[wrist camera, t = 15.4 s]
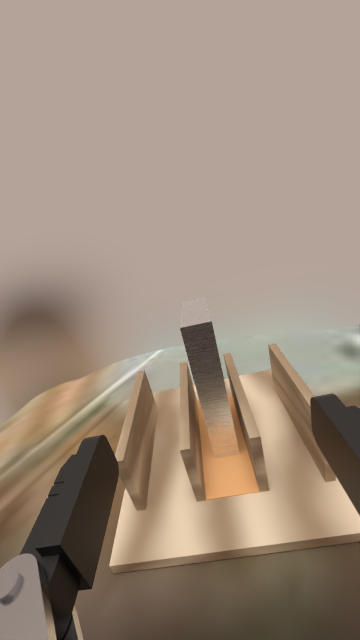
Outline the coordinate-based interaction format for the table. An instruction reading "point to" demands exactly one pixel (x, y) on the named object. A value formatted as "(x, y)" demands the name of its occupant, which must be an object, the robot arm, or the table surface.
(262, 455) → the media rack
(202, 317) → the panel
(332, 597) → the table surface
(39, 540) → the robot arm
